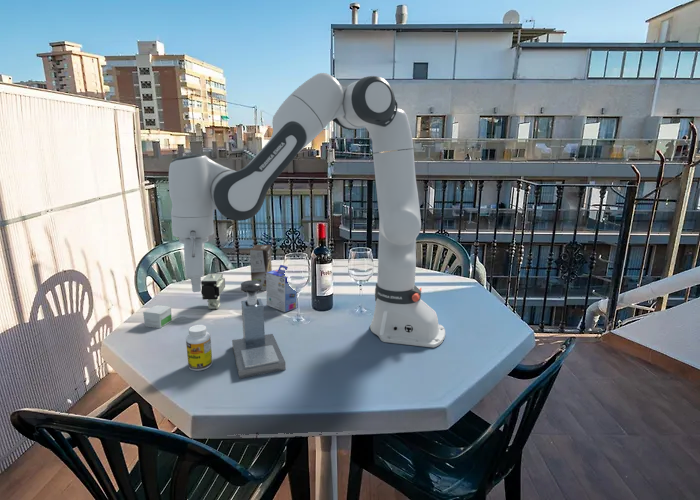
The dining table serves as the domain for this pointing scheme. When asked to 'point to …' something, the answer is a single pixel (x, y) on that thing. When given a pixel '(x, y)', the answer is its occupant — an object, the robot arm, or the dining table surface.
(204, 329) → the supplement bottle
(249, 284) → the ram
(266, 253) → the coffee box
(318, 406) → the dining table surface
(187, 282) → the dining table surface
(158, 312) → the small box
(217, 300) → the pneumatic valve
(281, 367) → the press
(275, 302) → the ink cartridge box
